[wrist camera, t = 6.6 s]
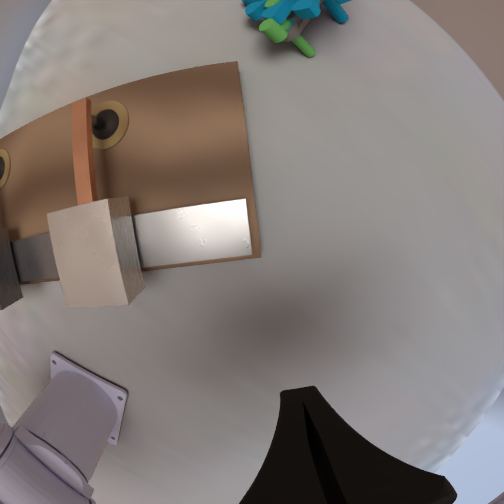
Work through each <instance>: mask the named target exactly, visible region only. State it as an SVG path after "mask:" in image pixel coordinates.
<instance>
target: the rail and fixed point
mask: <svg viewBox="0 0 504 504" xmlns="http://www.w3.org/2000/svg"><path fill="white" fill-rule="evenodd" d="M131 217H132V223H133V229H134V235H135V241H136V246H137V251H138V257H139V262H140V267H141V268H144V267H153V266H161V265H170V264H178V263H187V262H195V261H203V260H212V259H220V258H229V257H237V256H245V255H252V249H251V240H250V232H249V224H248V216H247V207H246V199H245V198H243V199H235V200H227V201H220V202H212V203H205V204H198V205H191V206H184V207H178V208H172V209H165V210H159V211H153V212H147V213H141V214H136V215H131ZM58 277H59V274H58V270H57V266H56V261H55V257H54V252H53V247H52V242H51V237H50V232H48V233H43V234H39V235H35V236H31V237H27V238H23V239H19V240H15V241H11V242H10V241H9V235H8V229H7V228H3V229H0V310H3V309H4V308H6V307H8V306H9V305H11V304H13V303H14V302H16V301H18V300H19V299H21V298H23V295H22V292H21V288H20V285H19V282H23V281H32V280H41V279H49V278H58Z"/></svg>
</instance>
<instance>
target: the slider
mask: <svg viewBox="0 0 504 504" xmlns="http://www.w3.org/2000/svg"><path fill="white" fill-rule="evenodd" d="M103 126H104V120H103V119H102V118H99V117H97V116H95V115H93V114H91V100H90V99H88V98H84V99H82V100H79V101H77V102H74V103H72V146H73V163H74V175H75V185H76V194H77V202H78V206H74V207H70V208H66V209H63V210H59V211H55V212H52V213H48V214H47V219H48V225H49V231H50V237H51V242H52V247H53V252H54V257H55V261H56V266H57V270H58V274H59V278H60V282H61V286H62V289H63V293H64V296H65V300H66V303H67V306H68V308H88V307H106V306H122V305H129V304H130V303H131V302H132V301H133V300H134V299H135V298H136V297H137V296H138V295H139V293H140V292H141V291H142V290H143V289H144V288H145V285H144V281H143V276H142V271H141V267H140V262H139V257H138V251H137V246H136V241H135V235H134V229H133V223H132V217H131V210H130V203H129V196H127V197H118V198H108V199H104V200H99V201H98V197H97V189H96V180H95V170H94V158H93V143H92V129H94V130H97V131H98V130H100V129H102V128H103Z"/></svg>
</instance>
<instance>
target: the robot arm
mask: <svg viewBox="0 0 504 504" xmlns="http://www.w3.org/2000/svg"><path fill="white" fill-rule="evenodd" d="M50 377H51V381H50V382H49V383H48V384H47V386H46V387H45V388H44V389H43V390H42V392H41V393H40V394H39V395H38V396H37V397H36V399H35V400H34V401H33V402H32V404H31V405H30V406H29V407H28V408H27V410H26V411H25V412H24V413H23V415H22V416H21V417H20V418H19V420H18V421H17V422H16V423H15V425H14V426H13V427H10V426H9V424H8V423H1V422H0V504H96V502H95V501H94V500H93V499H92V498H91V496H92V494H93V491H94V488H92V487H91V486H90V485H89V484H88V482H89V480H90V479H91V477H92V475H93V473H94V470H95V468H96V466H97V464H98V461H99V459H100V457H101V455H102V453H103V450H104V448H105V446H106V444H107V443H110V444H112V445H117V443H118V437H119V432H120V427H121V422H122V417H123V412H124V408H125V403H126V399H127V392H126V391H125V390H124V389H122V388H120V387H118V386H116V385H114V384H112V383H110V382H108V381H106V380H104V379H102V378H100V377H98V376H96V375H94V374H92V373H90V372H88V371H86V370H85V369H83V368H81V367H79V366H78V365H76V364H74V363H72V362H71V361H69V360H67V359H66V358H64V357H62V356H61V355H59V354H57V353H56V352H53V353H52V354H51V355H50ZM121 397H122V398H121ZM456 498H457V493H456V491H455V490H454V488H453V487H452V485H451V484H450V482H449V481H448V480H447V479H446V478H445V476H441V475H437V474H434V473H430V472H427V471H424V470H421V469H419V468H416V467H414V466H411V465H409V464H407V463H405V462H403V461H401V460H399V459H397V458H395V457H393V456H391V455H389V454H387V453H386V452H384V451H382V450H381V449H379V448H378V447H376V446H375V445H373V444H372V443H370V442H369V441H368V440H366V439H365V438H364V437H362V436H361V435H360V434H359V433H357V432H356V431H355V430H354V429H353V428H352V427H351V426H350V425H348V424H347V423H346V422H345V421H344V420H343V419H342V418H341V417H340V416H339V415H338V414H337V412H336V411H335V410H334V409H333V408H332V407H331V406H330V405H329V403H328V402H327V401H326V400H325V399H324V397H323V396H322V395H321V393H320V392H319V391H318V389H317V388H316V387H315V386H309V387H303V388H297V389H290V390H283V391H282V392H281V393H280V411H279V417H278V422H277V426H276V430H275V434H274V437H273V440H272V443H271V446H270V448H269V451H268V454H267V456H266V458H265V461H264V463H263V465H262V467H261V469H260V471H259V473H258V475H257V476H256V478H255V480H254V482H253V483H252V485H251V487H250V488H249V490H248V491H247V493H246V494H245V496H244V497H243V499H242V500H241V501H240V503H239V504H453V503H454V501H455V500H456ZM488 504H504V492H503V493H502V494H500V495H499V496H498V497H497V498H495V499H494V500H493V501H491V502H490V503H488Z"/></svg>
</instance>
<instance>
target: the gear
mask: <svg viewBox="0 0 504 504" xmlns="http://www.w3.org/2000/svg"><path fill="white" fill-rule="evenodd" d="M242 1H243V2H244V3H245V4H246V5H248V6H247V7H246V9H245V12H246V14H247V15H248V16H249V17H250V18H251V19H253V20H254V21H258V20H260V19H261V18H262V17H263V18H265V19H266V20H265V21H263V22H262V23H261V24H260V26H259V30H260V31H261V32H263V33H264V34H265V35H266V36H267V37H268V38H270V39H271V40H272V41H273V42H274V43H279V42H282V41H283V42H289V41H292V42H293V43H294V44H295V45H296V46H297V47H298V48H299V49H300V50H301V51H302V52H303V53H304V54H305V55H306V56H307V57H312V56H314V55H315V53H316V52H315V50H314V49H313V48H312V47H311V46H310V45H309V43H308V42H307V41H306V40H305V39H304V38H303V37H302V36H301V35H300V34H301V32H302V31H303V29H304V28H305V26H306V25H307V23H308V22H309V20H310V19H311V18H315V17H317V16H318V15H319V14H320V12H321V10H320V8H319V6H320V5H321V4H323V5H324V6H325V7H326V8H327V10H328V11H329V12H330V13H331V15H332V16H333V17H334V19H335V20H336V21H337V22H338V23H343V22H346V21H347V20H348V18H349V17H348V15H347V14H346V13H345V11H344V10H343V8H342V7H341V6H340V4H342V3H345V2H348V1H351V0H242Z"/></svg>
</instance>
